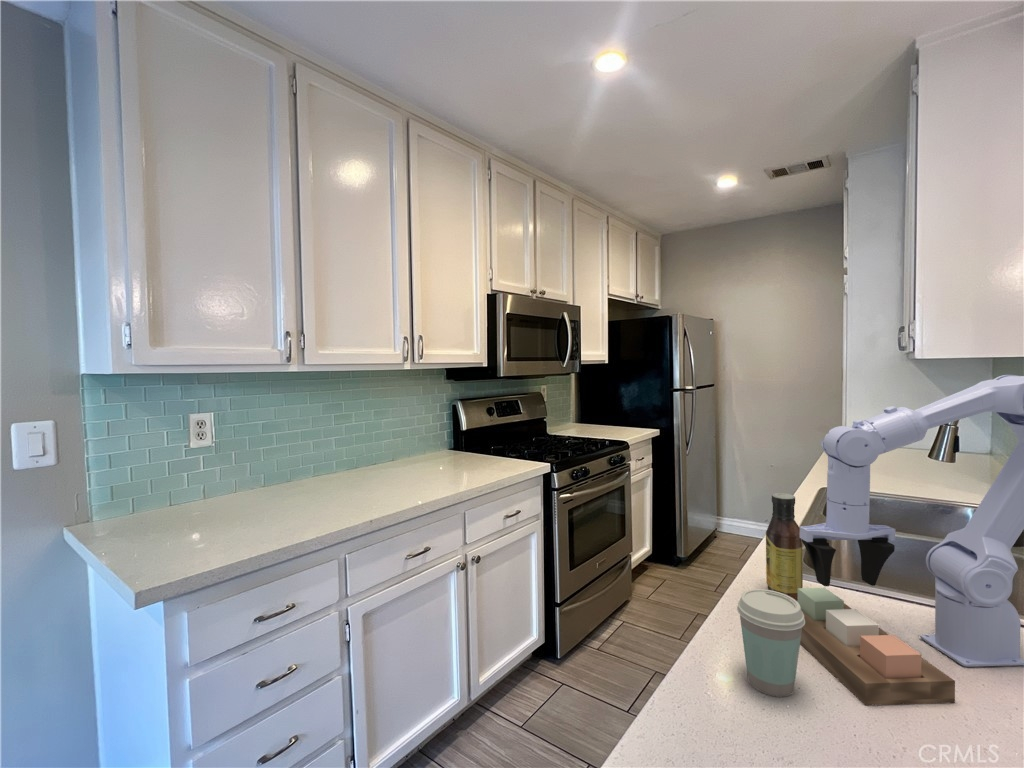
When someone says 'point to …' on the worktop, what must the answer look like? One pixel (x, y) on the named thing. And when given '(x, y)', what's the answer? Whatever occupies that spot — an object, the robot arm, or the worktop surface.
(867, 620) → the cream button
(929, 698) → the walnut button board
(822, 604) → the sage green button
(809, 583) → the worktop surface
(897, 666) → the terracotta button
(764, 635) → the coffee cup
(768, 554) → the sauce bottle
